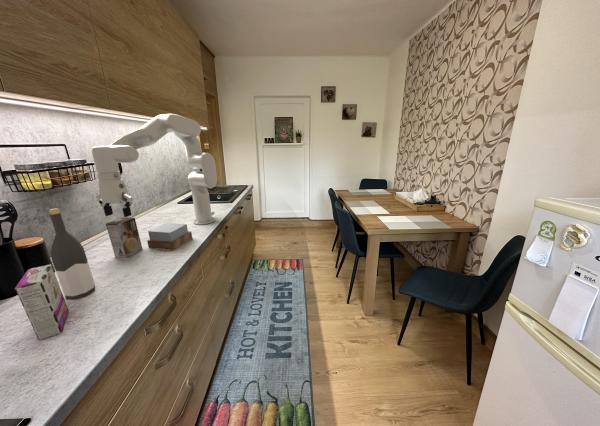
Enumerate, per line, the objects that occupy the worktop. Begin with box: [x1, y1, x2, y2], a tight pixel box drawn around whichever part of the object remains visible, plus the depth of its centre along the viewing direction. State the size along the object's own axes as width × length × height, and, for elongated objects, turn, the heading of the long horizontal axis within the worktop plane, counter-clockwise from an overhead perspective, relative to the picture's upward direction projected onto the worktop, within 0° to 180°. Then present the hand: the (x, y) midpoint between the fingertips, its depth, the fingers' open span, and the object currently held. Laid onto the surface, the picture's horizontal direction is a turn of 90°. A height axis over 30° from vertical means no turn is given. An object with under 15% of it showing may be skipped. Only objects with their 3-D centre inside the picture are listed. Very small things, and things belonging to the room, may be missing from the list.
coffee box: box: [105, 216, 143, 259], centre depth 109 cm, size 9×6×16 cm
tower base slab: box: [146, 230, 193, 251], centre depth 121 cm, size 14×14×4 cm
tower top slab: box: [148, 222, 189, 242], centre depth 120 cm, size 12×12×4 cm
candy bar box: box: [14, 263, 70, 341], centre depth 66 cm, size 11×5×16 cm, turn 35°
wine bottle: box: [48, 207, 96, 301], centre depth 78 cm, size 8×8×30 cm
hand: (118, 215), depth 106 cm, fingers open, 9 cm apart
